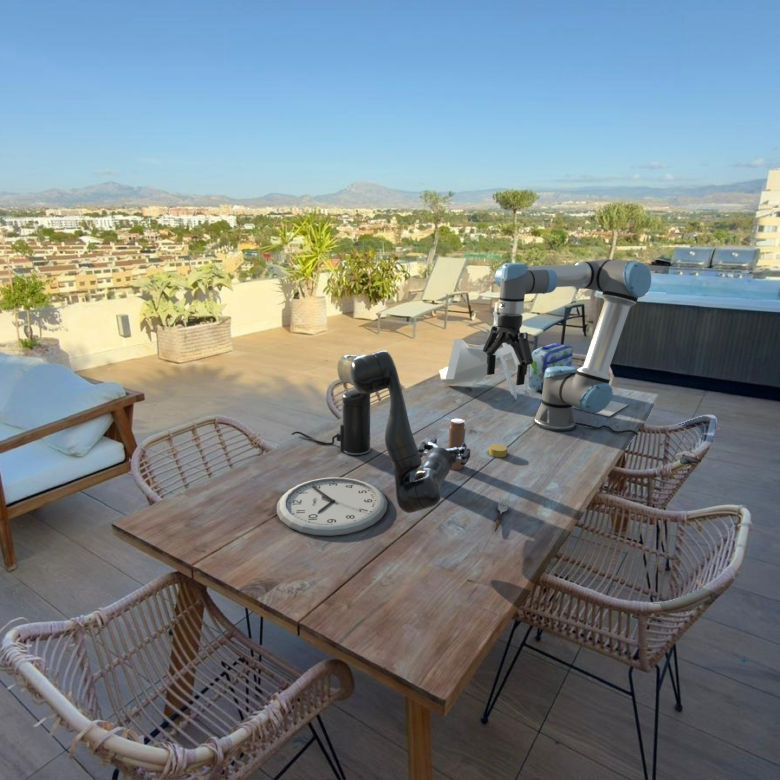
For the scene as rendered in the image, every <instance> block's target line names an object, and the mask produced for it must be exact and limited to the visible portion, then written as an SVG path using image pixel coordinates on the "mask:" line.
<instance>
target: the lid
mask: <svg viewBox="0 0 780 780" xmlns="http://www.w3.org/2000/svg"><path fill="white" fill-rule="evenodd" d="M488 454H489V455H490V456H491V457H494V458H505V457H507V454H508V447H507V446H506V445H504V444H502V443H491V444H490V445H489V449H488Z"/></svg>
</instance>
